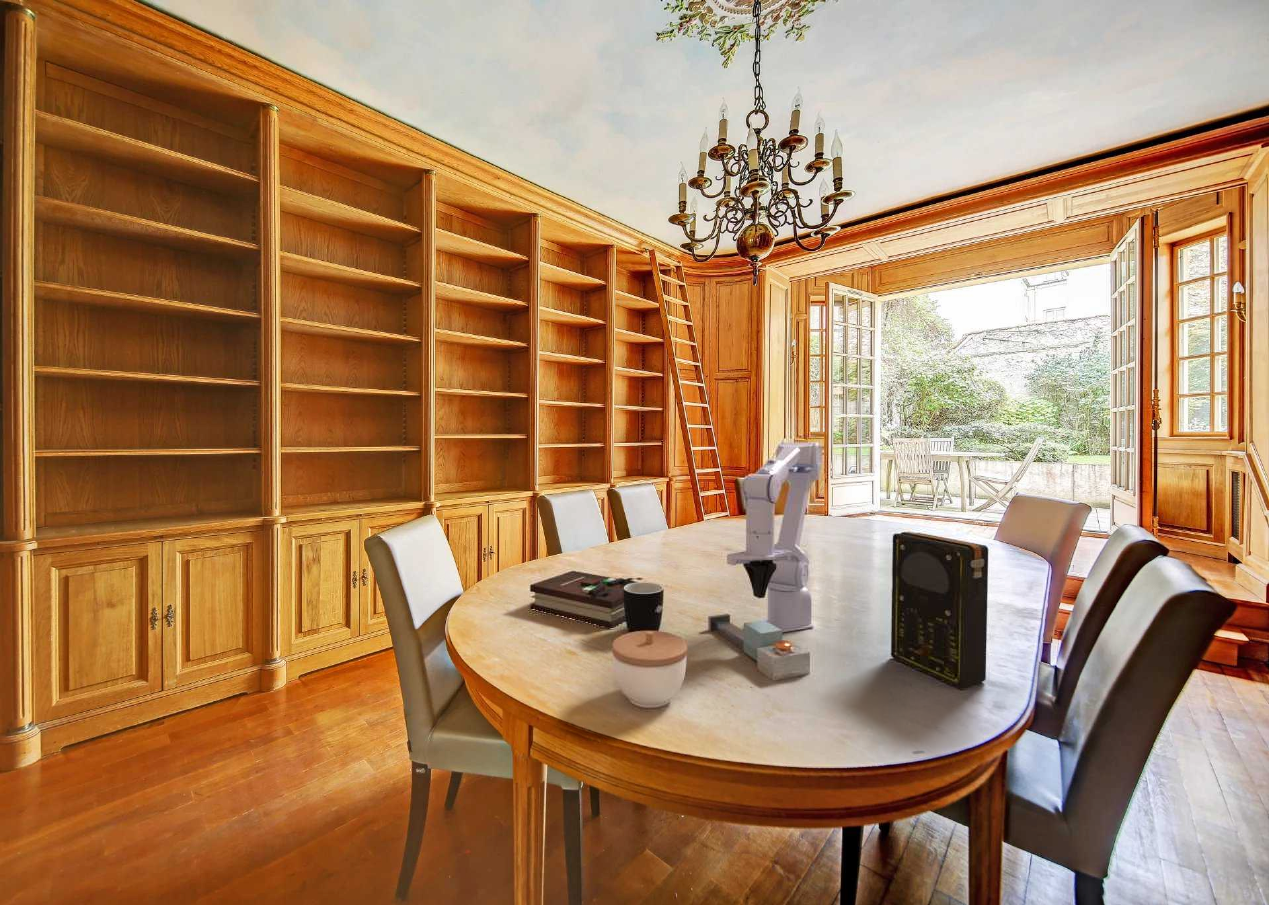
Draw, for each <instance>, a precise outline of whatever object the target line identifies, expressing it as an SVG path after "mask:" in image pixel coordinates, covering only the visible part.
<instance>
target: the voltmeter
mask: <svg viewBox="0 0 1269 905" xmlns="http://www.w3.org/2000/svg"><path fill="white" fill-rule="evenodd" d="M891 560H892V562H891V563H892V564H891V566H892V567H891V578H892V579H891V580H892V581H891V621H890V622H891V625H890V630H891V631H890V633H891V634H890V638H891V640H890V655H891V658H892V657H893V658H894V660H895V659H896V661H898V662H900V663H902V662H903V663H902V664H904V663H905V664H904V665H906V664H907V666H909V667H911V668H913V669H915V670H917V669H918V670H917V671H919V672H922V673H924V674H927V675H929V676H930V675H931V676H930V677H933V678H935V679H938V680H939V679H940V680H939V681H941V682H944V683H946V684H948V683H949V684H948V685H950V686H952V685H953V686H952V687H955V688H957V689H959V690H966V688H967V686H971V685H972V686H973V685H975V684H978V683H981V682H984V681H985V680H987V676H986V675H987V640H988V639H987V638H988V637H987V635H988V634H987V632H988V627H987V626H988V593H989V592H988V587H989V586H988V585H989V583H988V582H989V579H988V578H989V547H988V546H987V545H985V544H979V543H975V542H969V541H964V540H959V539H953V538H949V537H943V536H938V535H932V534H927V533H926V534H925V533H923V532H922V533H921V532H913V531H901V532H900V533H893V535H892V558H891Z"/></svg>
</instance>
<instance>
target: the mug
mask: <svg viewBox="0 0 1269 905" xmlns="http://www.w3.org/2000/svg"><path fill="white" fill-rule="evenodd" d="M637 582H638V581H637ZM623 598H624V611H625V619H626V622H625V624H626V628H627V631H628V633H631V632H636V631H660V628H661V623H662V618H663V617H662V616H663V611H664V587H663V586H662V585H661V584H658V583H656V582H649V581H648V582H647V581H646V582H645V581H643V582H642V581H640V582H638V583H631V584H628V585H626V586H624V588H623Z"/></svg>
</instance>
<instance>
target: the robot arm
mask: <svg viewBox="0 0 1269 905" xmlns="http://www.w3.org/2000/svg"><path fill="white" fill-rule="evenodd" d="M775 453H776V454H775V458H768V459H767V460H766V461H765V463H764V464H763V465H762V466H761V467H760V468H759V469H758V470H757V471H756V472H755V473H749V474H748V475H745V476H744V478H743V480H742V484H741V495H742V499H743V508H744V510H746V513H745V516H746V518H745V529H746V530H745V550H743V551H739V552H734V553H727V554H726V564H727V565H730V566H737V565H741V564H742V566H743V568H744V569H745V572H746V573H747V576H748V578H749V581H750V584H751V589H752V593H753V596H754V598H755V597H756V598H758V599H763V598H766V594H767V618H760V619H759V621H762V620H765V621H766V622H768V623H770V624H772V625H774V626H775V627H777V628H779V629H781V630H782V633H787V632H792V631H793V632H794V631H799V630H800V631H801V630H805V629H811V628H814V624H812V597H811V593H810V591H809V589H808V588H807V587H806V585H807V583H808V579H809V564H810V560H809V558H808V556H807V554H806V553H805V552H804V550H802V548H800V544H801V537H802V533H803V527H804V522H805V518H806V517H805V516H806V511H807V505H808V500H809V494H810V491H811V487H812V484H813V483H814V482H816V481H818V480H819V476H820V475H821V470H822V469H821V468H822V463H823V447H822V446H821V444H820V443H819V442H817V441H815V442H785V441H780V443H778V445H777V446H776V451H775ZM785 481H787V482H788V483H789V486H788V490H787V491H788V492H787V495H786V501H785V507H784V511H783V516H782V520H781V525H780V530H779V536H778V540H777V542H776V543H775V509H776V508H775V507H776V506H775V503H776V502H778V499H779V496H780V492H781V490H782V485H783V484H784V483H785Z"/></svg>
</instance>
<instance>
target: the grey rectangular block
mask: <svg viewBox="0 0 1269 905" xmlns="http://www.w3.org/2000/svg"><path fill="white" fill-rule="evenodd" d="M791 643H792V649H790V653H789V654H783V655H781V654H779V653H778V652H777V648H776V647H775V645H774V646H768V647H763V648H757V660H756V661H757V662H756V664H757V665H756V666H757V668H756V669H757V670H758V671H759V672H760V671H761V673H762V674H764V675H765V676H766V677H767V678H768V679H770V680H772V681H778V680H779V679H780V680H784V679H789V678H793V677H799V676H804V675H805V676H806V675H809V674H810V672H811V671H810V670H811V669H810V667H811V652H810V651H809V650H807V649H805V648H804V647H801V645H798V644H796V643H795V642H793V641H791Z"/></svg>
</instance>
